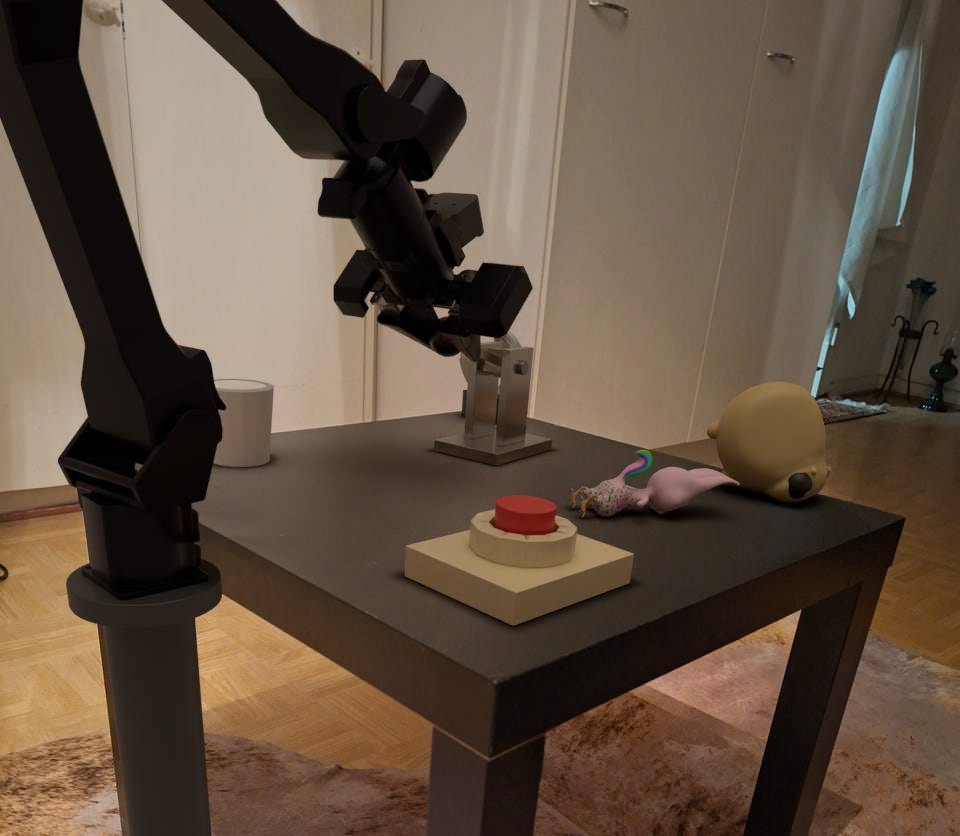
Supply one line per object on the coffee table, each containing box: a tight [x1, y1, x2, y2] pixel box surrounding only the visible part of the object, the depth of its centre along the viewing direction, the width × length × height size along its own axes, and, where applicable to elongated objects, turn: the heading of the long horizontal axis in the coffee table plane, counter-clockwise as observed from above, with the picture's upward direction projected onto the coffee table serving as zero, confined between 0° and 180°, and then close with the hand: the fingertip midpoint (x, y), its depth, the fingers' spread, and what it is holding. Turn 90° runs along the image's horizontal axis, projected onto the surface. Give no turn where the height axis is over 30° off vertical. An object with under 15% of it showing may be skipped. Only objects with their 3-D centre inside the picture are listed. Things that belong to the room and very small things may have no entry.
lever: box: [429, 315, 503, 379], centre depth 85 cm, size 13×4×4 cm, turn 145°
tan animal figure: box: [706, 381, 832, 504], centre depth 84 cm, size 10×12×11 cm
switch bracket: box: [433, 341, 553, 467], centre depth 91 cm, size 11×8×11 cm
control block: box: [404, 508, 635, 627], centre depth 58 cm, size 12×10×4 cm
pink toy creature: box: [569, 449, 740, 519], centre depth 75 cm, size 6×6×15 cm
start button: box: [494, 494, 557, 535], centre depth 57 cm, size 4×4×2 cm
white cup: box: [213, 378, 275, 468], centre depth 81 cm, size 7×7×7 cm
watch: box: [458, 329, 523, 425], centre depth 107 cm, size 6×8×11 cm
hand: (462, 355), depth 84 cm, fingers closed on lever, 3 cm apart
